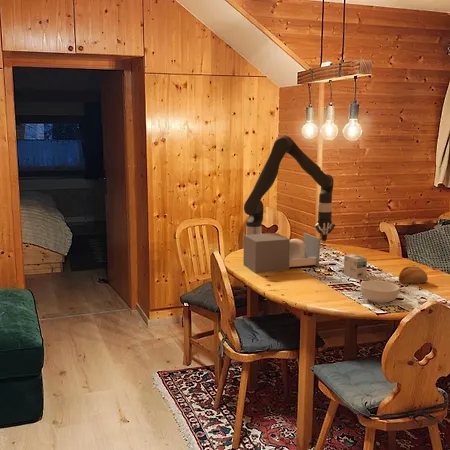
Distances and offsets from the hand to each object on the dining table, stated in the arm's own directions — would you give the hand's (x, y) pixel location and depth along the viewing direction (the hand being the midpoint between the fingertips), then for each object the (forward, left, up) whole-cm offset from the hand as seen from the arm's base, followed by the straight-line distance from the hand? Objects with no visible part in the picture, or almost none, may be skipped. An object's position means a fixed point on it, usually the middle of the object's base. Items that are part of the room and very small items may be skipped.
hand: (324, 240), depth 307 cm
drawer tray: (0, -17, -12) cm, 21 cm away
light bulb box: (+30, +2, -13) cm, 33 cm away
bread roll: (+49, +23, -13) cm, 56 cm away
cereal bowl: (+68, -9, -13) cm, 70 cm away
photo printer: (0, -17, -10) cm, 20 cm away
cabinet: (0, -35, -13) cm, 37 cm away
